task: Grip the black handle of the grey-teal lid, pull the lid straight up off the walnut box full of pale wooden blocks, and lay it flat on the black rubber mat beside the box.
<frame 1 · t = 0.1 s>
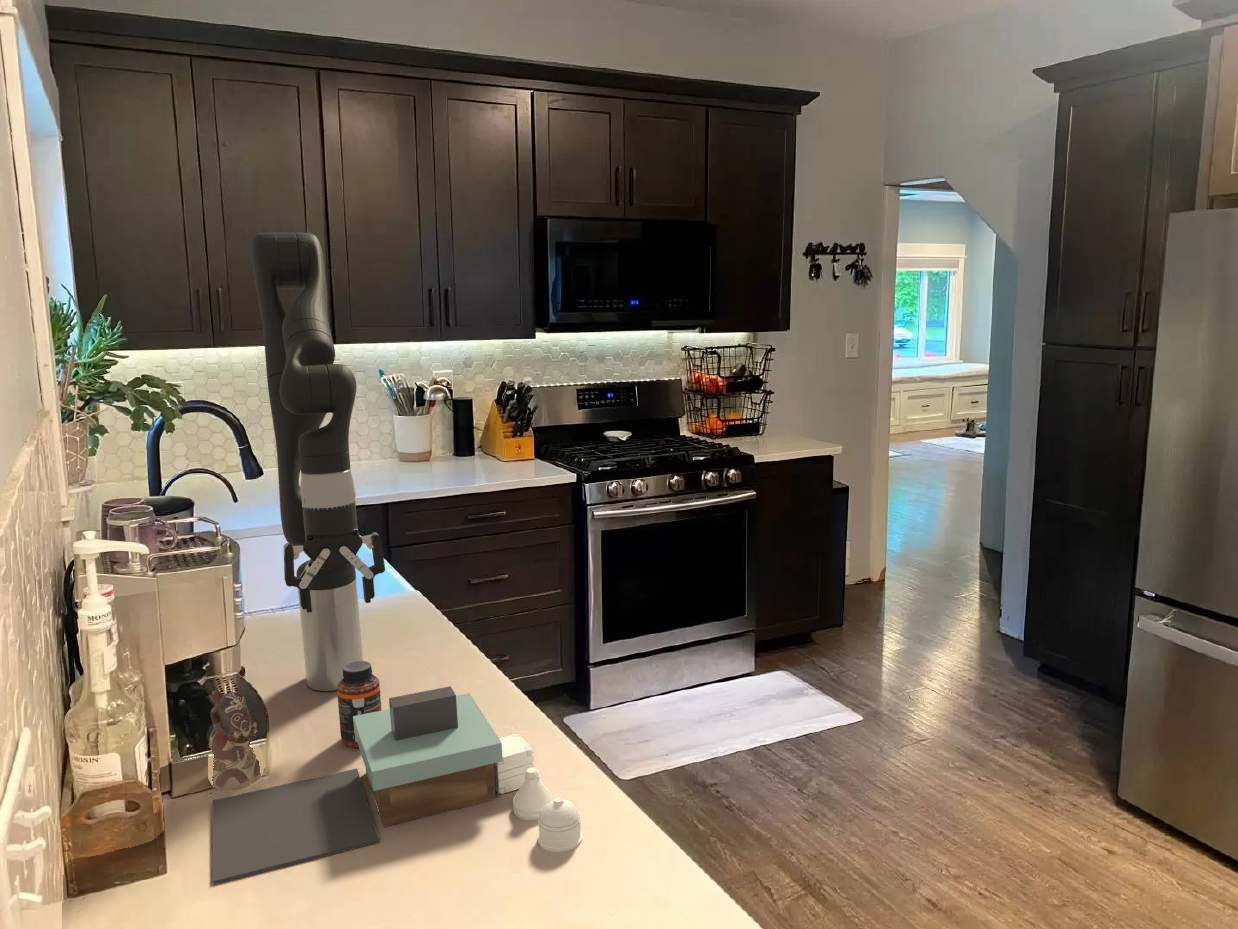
hand: (338, 606, 139), 17 cm above the worktop, tool pointing down, fingers open, 8 cm apart
figurine: (237, 777, 125), on the worktop
box: (428, 785, 121), on the worktop
lid: (426, 747, 120), point 5 cm above the worktop, touching box
mat: (292, 822, 114), on the worktop
container set: (533, 812, 115), on the worktop
supplement bottle: (362, 740, 134), on the worktop
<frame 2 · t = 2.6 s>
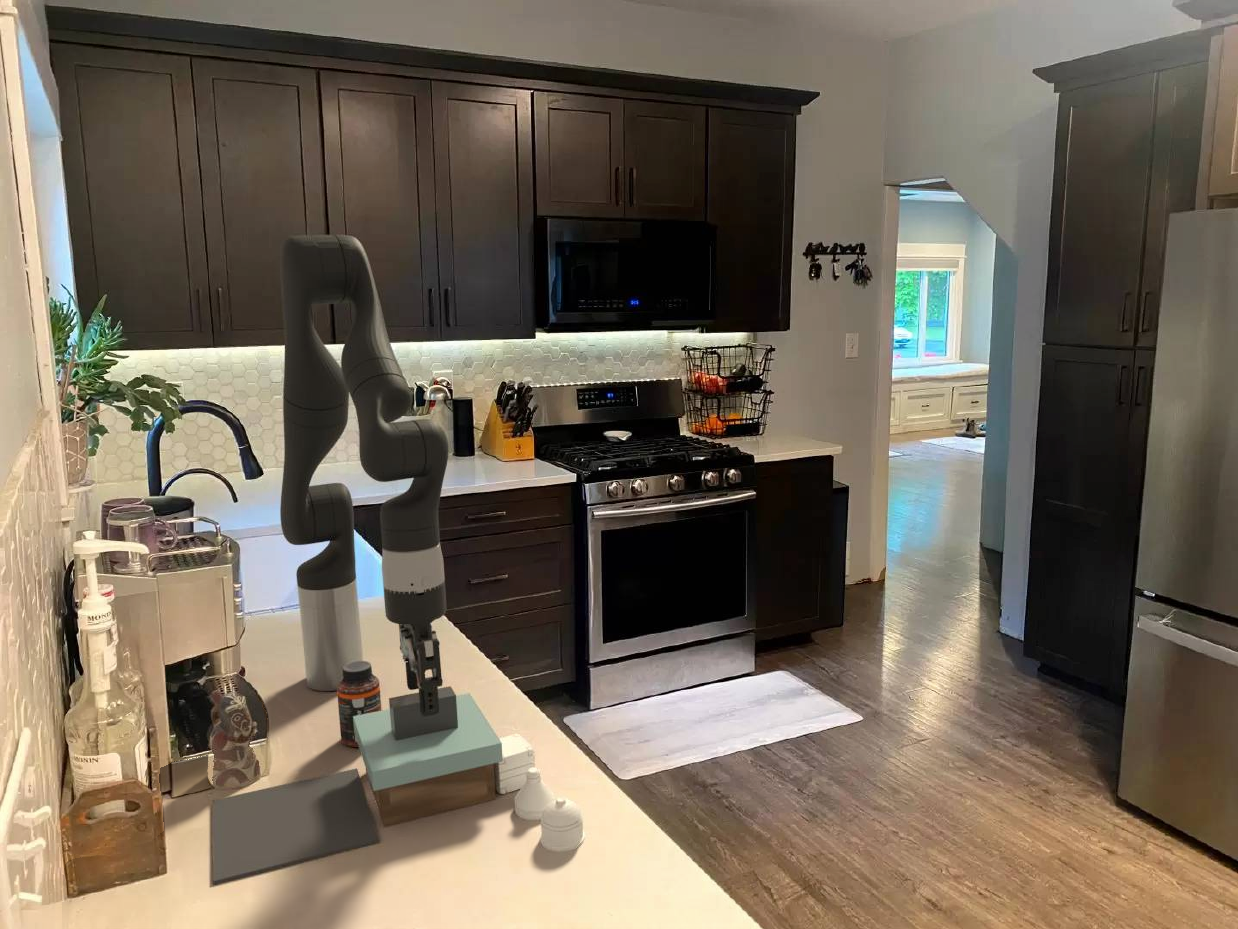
hand: (422, 700, 119), 12 cm above the worktop, tool pointing down, fingers open, 8 cm apart
nothing on the worktop moved.
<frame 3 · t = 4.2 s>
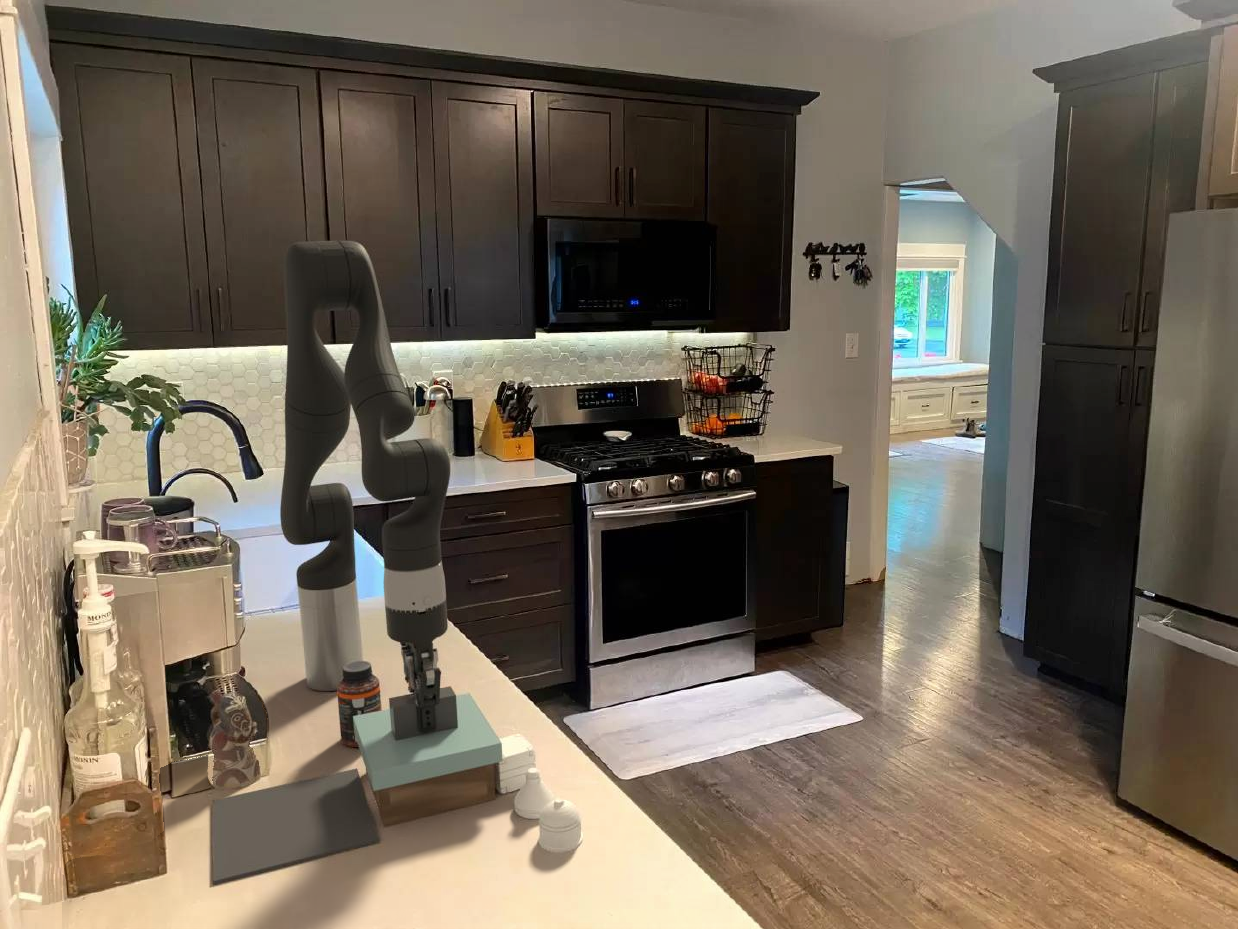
hand: (424, 724, 120), 9 cm above the worktop, tool pointing down, fingers closed on lid, 3 cm apart
lid: (426, 747, 120), point 6 cm above the worktop, touching box, gripper
everything else where it was.
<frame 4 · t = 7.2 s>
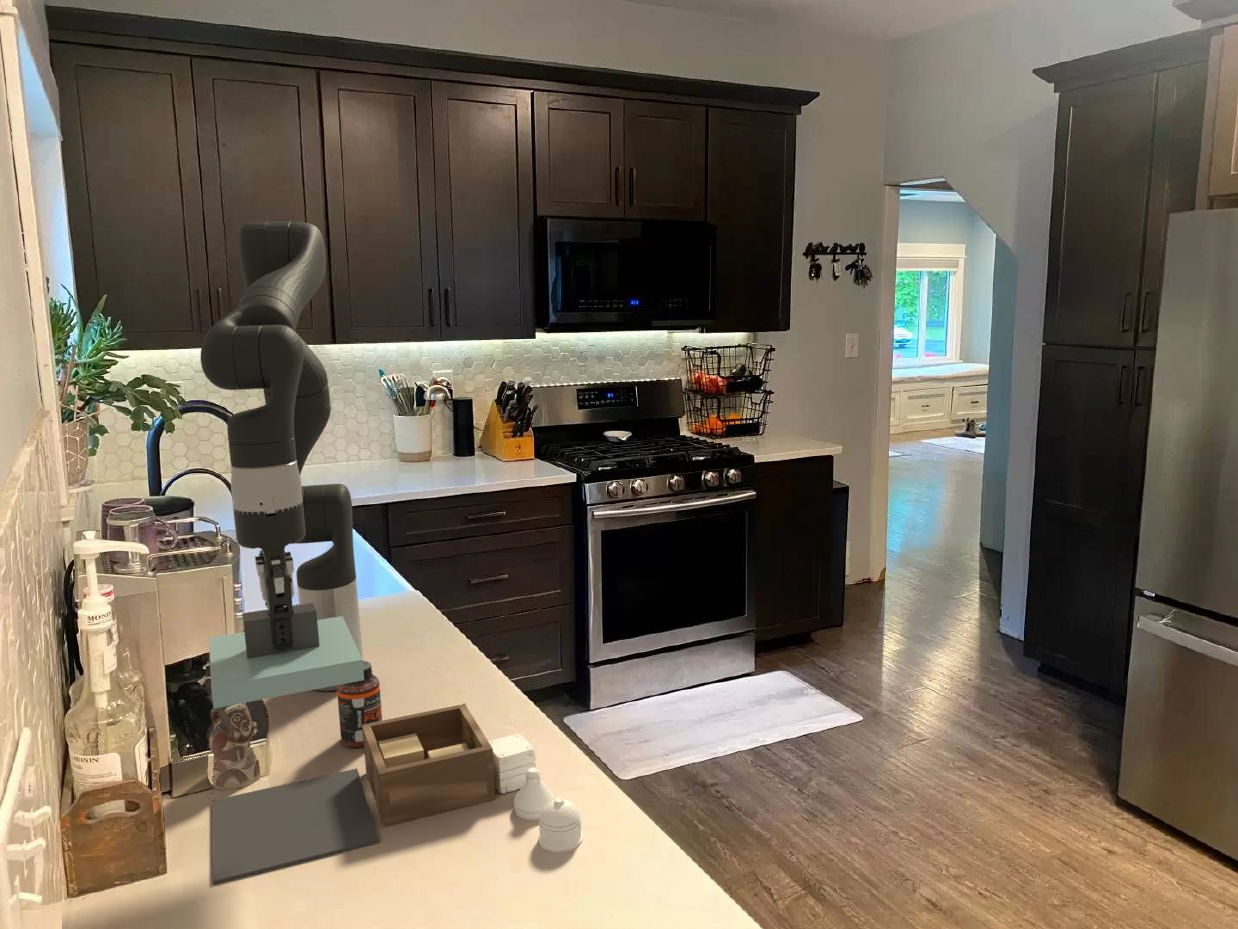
hand: (282, 642, 110), 23 cm above the worktop, tool pointing down, fingers closed on lid, 3 cm apart
lid: (284, 668, 110), point 20 cm above the worktop, touching gripper
everything else where it was.
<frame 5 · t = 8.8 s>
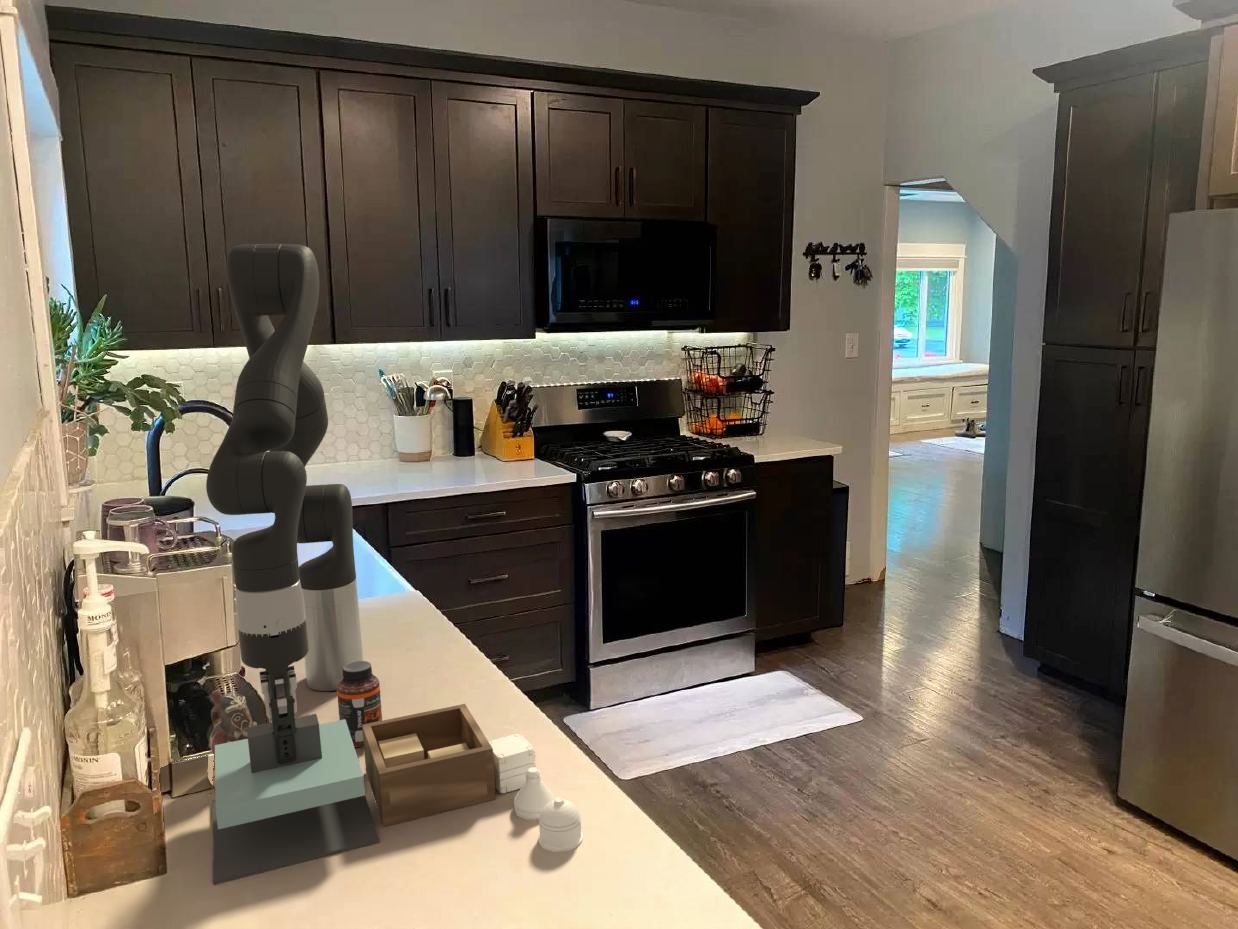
hand: (285, 754, 112), 9 cm above the worktop, tool pointing down, fingers closed on lid, 3 cm apart
lid: (288, 779, 113), point 6 cm above the worktop, touching gripper
everything else where it was.
when the fingers open (5 cm above the worktop, at t = 10.2 s): lid drops 2 cm, resting on mat.
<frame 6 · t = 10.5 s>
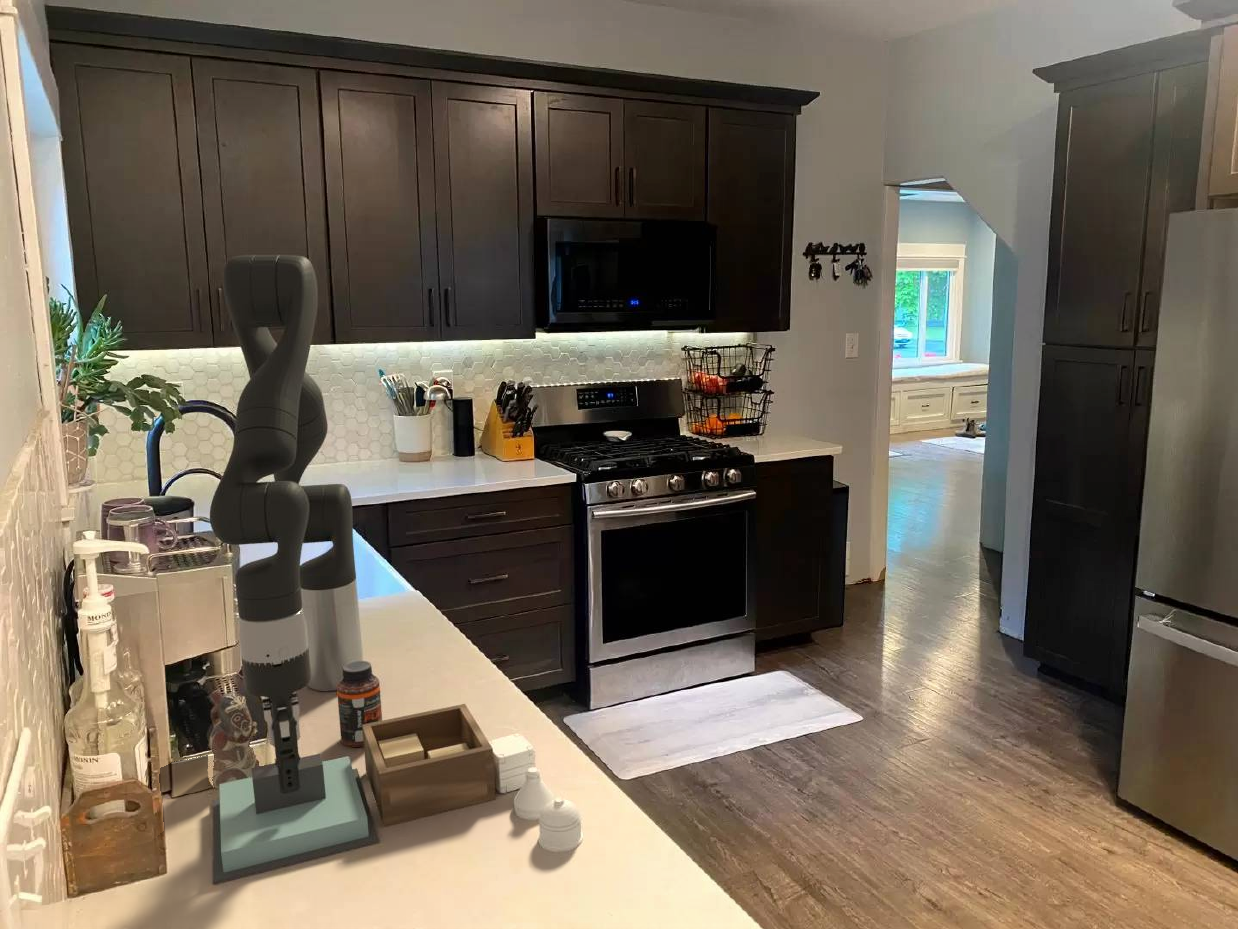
hand: (288, 777, 113), 6 cm above the worktop, tool pointing down, fingers open, 6 cm apart
lid: (292, 818, 114), resting on mat
everything else where it was.
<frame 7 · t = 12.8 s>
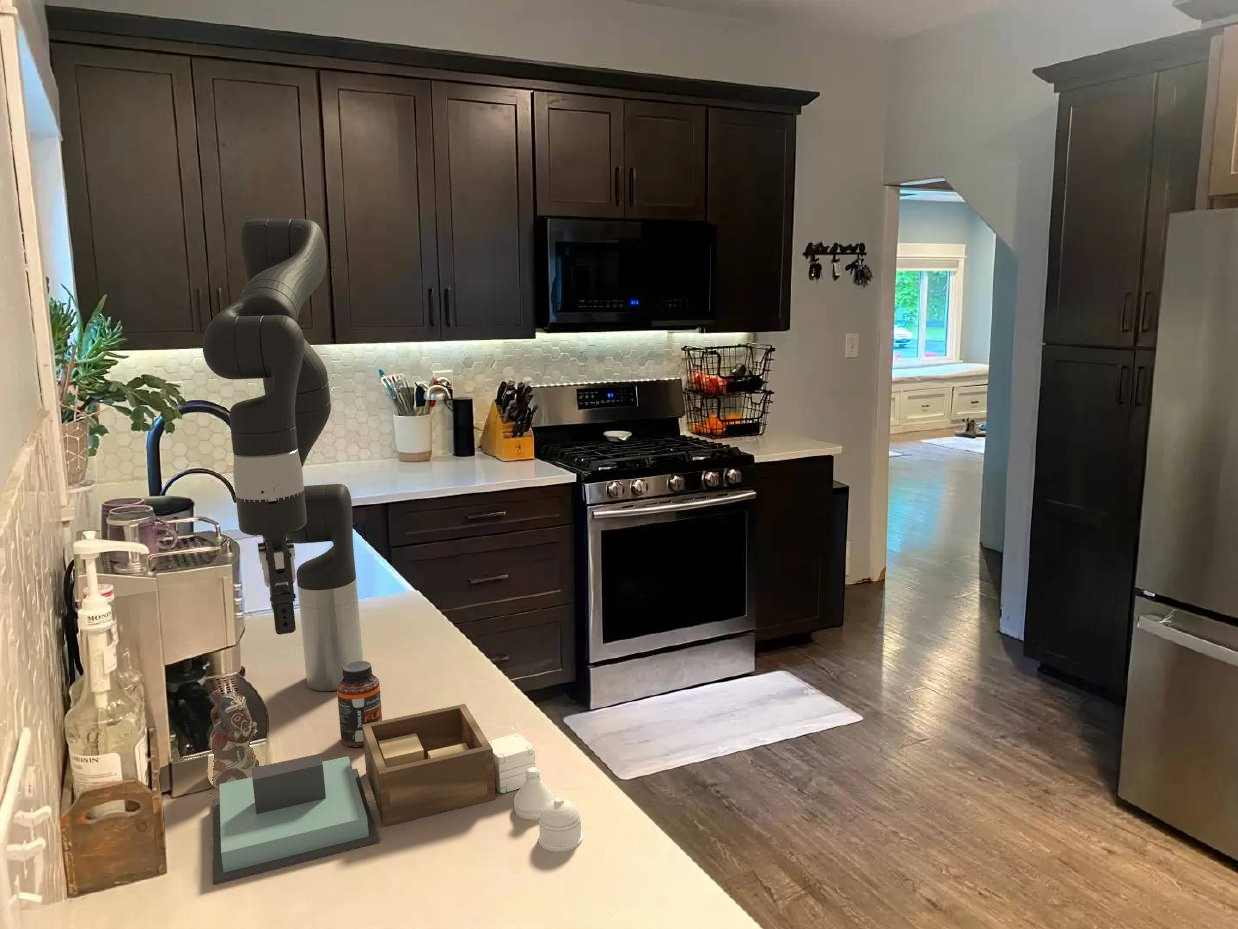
hand: (283, 620, 111), 25 cm above the worktop, tool pointing down, fingers open, 8 cm apart
nothing on the worktop moved.
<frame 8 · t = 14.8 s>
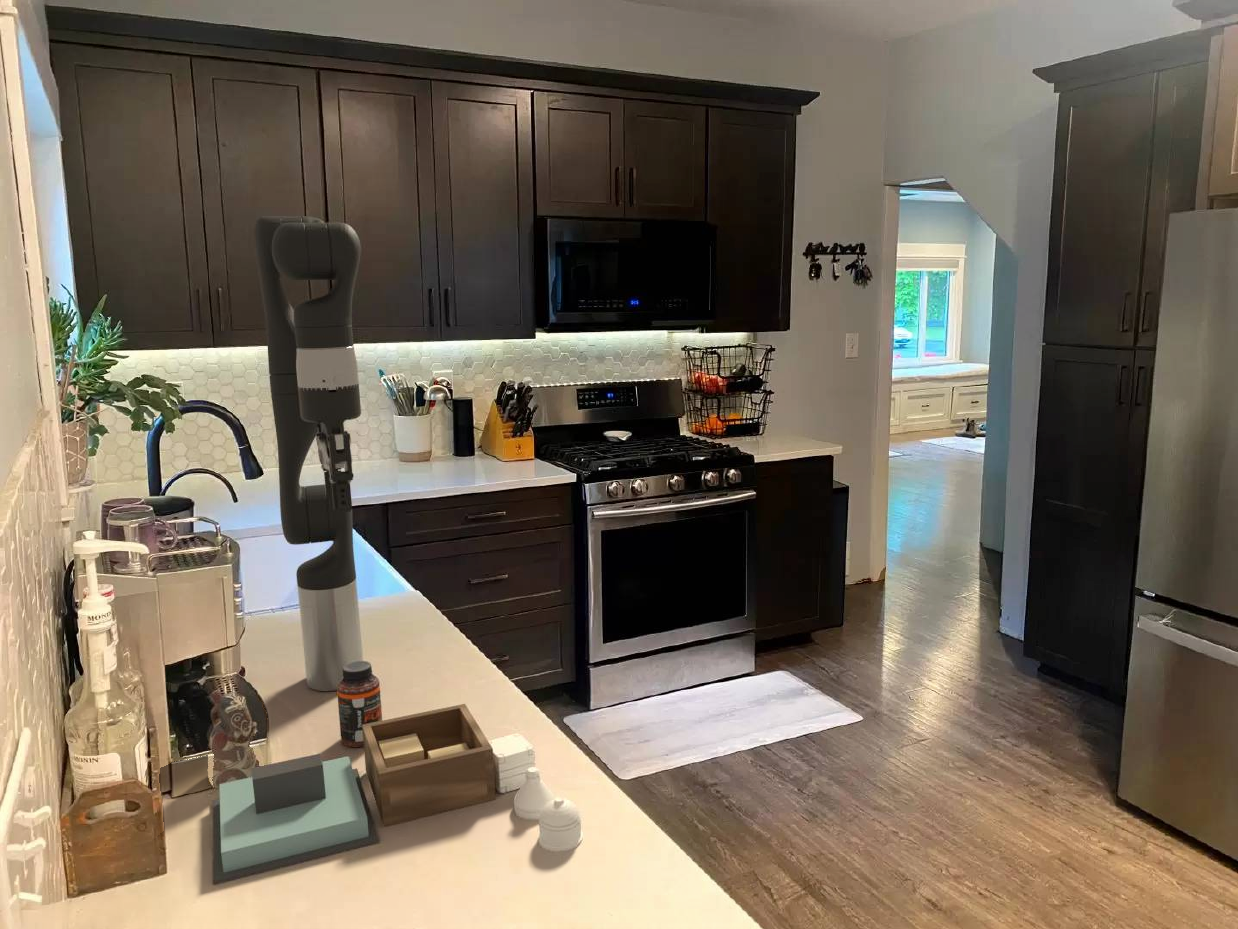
hand: (338, 504, 122), 36 cm above the worktop, tool pointing down, fingers open, 8 cm apart
nothing on the worktop moved.
at the end: lid inside the target area (0.1 cm from its centre), resting on mat; lid tilted 0°; the gripper is holding nothing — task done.
